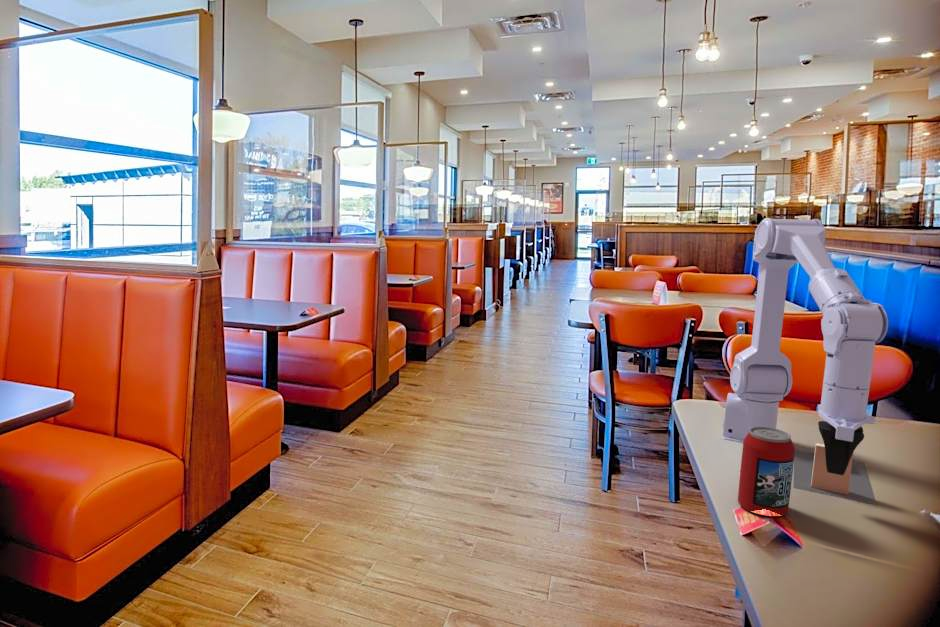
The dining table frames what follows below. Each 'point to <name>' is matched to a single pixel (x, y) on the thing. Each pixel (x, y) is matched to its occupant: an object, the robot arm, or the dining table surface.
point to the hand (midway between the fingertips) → (835, 472)
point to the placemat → (857, 491)
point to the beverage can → (766, 470)
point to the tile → (829, 474)
